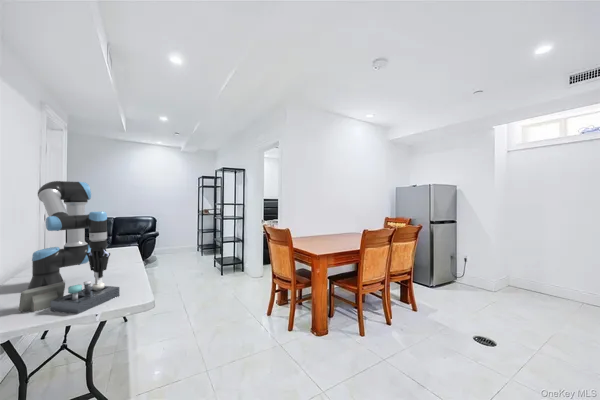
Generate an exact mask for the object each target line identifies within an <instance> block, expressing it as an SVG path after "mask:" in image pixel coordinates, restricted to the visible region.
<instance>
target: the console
mask: <svg viewBox="0 0 600 400" xmlns="http://www.w3.org/2000/svg"><path fill="white" fill-rule="evenodd" d="M104 287H105V288H103V289H101V291H98V292H96V290H93V285H92V286H91V285H90V294H84V288H82V291H80V292H78V299H77V300H75V301H73V298H72V293H68V294H65V295H64V296H63V297H60V298H57V299H54V300H51V307H50V312H54V313H55V312H56V313H66V314H74V315H75V314H76V315H79V314H81V313H83V312H86V311H88V310H90V309H93V308H95V307H98V306H99V305H102V304H104V303H107V302H109V301H111V300H113V298H114V299H116V298H119V297H120V286H112V285H110V286H109V285H104ZM115 297H116V298H115Z"/></svg>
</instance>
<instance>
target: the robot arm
mask: <svg viewBox="0 0 600 400" xmlns="http://www.w3.org/2000/svg"><path fill="white" fill-rule="evenodd" d="M37 197H38V200H39V201H40V202H42V203H43V205H44V208H45V212H46V214H47V217H46V218H45V229H46V230H47V231H49V232H50V231H51V232H53V231H55V232H59V231H66V243H65V244H64V245H63V248H60V247H59V246H53V247H51V246H50V247H46V248H42V249H39V250H36V251H34V252H33V253H32V257H31V261H32V262H31V264H32V265H31V267H32V269H31V270H32V273H31V275H32V276H31V280H30V281H29V284H28V286H27V287H28V289H27V290H29V289H34V288H38V287H43V286H47V285H52V284H56V283H61V282H65V281H64V279H63V277H62V274H61V271H60V270H61V268H66V267H73V266H80V265H84V264H87V263H88V264H89V268H90V271H93V272H94V274H93V275H94V284H100V283H102V282H103V277H104V272H105V271H106V270H107V269H108V263H109V257H110V256H111V252H108V251H107V247H108V240H107V239H108V213H107V212H106V211H90V212H89V213H88V214H85V212H86V211H85V205H87V204H88V201H89V200H91V198H92V191H91V187H90V185H89V184H88V183H87V182H85V181H68V180H67V181H62V180H53V181H49V182H47V183H45V184H43V185H42V186H40V187H39V189H38V190H37ZM64 204H65V205H66V207H65V205H64ZM85 229H88V234H89V235H88V236H89V237H88V238H89V242H86V240H85V236H86V235H85V234H86V232H85V231H86V230H85Z"/></svg>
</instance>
